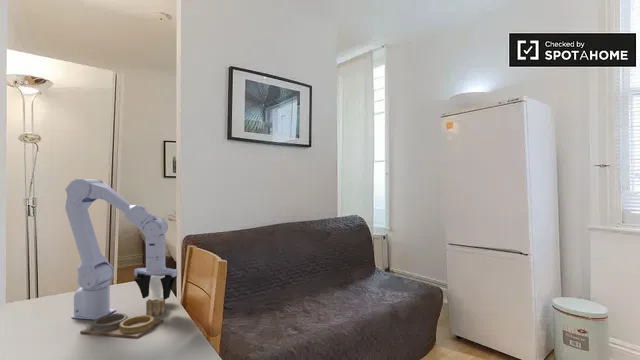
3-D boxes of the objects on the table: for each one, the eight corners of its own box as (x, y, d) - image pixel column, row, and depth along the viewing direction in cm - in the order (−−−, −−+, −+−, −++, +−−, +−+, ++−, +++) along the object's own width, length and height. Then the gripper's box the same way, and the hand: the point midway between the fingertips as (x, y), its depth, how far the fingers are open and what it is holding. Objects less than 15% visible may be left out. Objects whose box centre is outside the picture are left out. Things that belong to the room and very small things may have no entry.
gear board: (80, 333, 92) (80, 326, 92) (111, 317, 103) (111, 311, 103) (137, 338, 89) (137, 330, 89) (163, 321, 100) (163, 314, 100)
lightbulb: (158, 306, 113) (158, 274, 113) (142, 304, 114) (142, 273, 114) (169, 299, 119) (169, 269, 119) (154, 298, 120) (154, 268, 120)
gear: (142, 315, 105) (142, 302, 105) (153, 308, 110) (153, 296, 110) (157, 316, 104) (157, 303, 104) (168, 309, 109) (168, 297, 109)
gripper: (183, 254, 110) (183, 294, 110) (144, 253, 112) (144, 292, 112) (169, 258, 103) (170, 302, 103) (129, 257, 105) (129, 299, 105)
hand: (156, 297), depth 107 cm, fingers open, 7 cm apart
